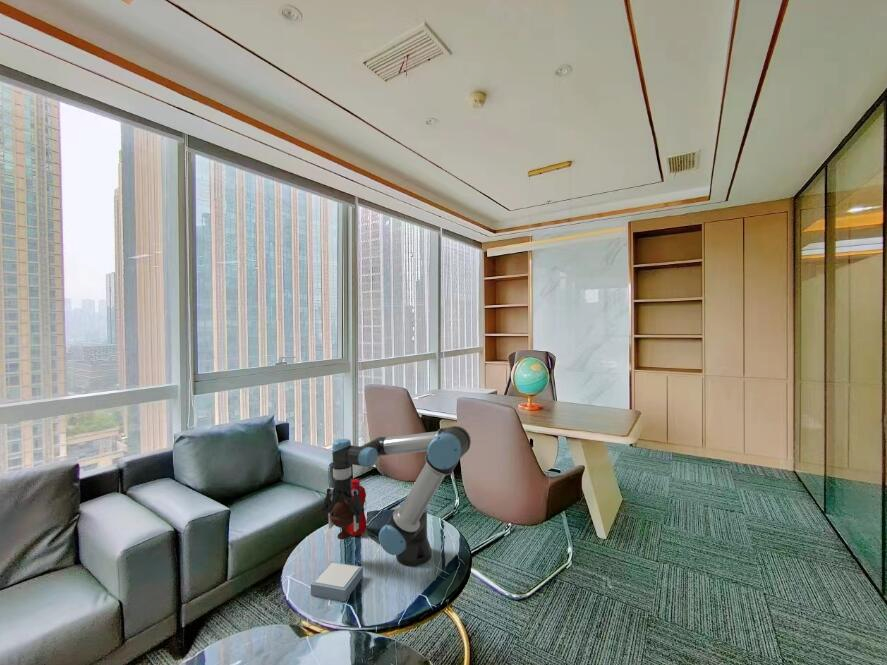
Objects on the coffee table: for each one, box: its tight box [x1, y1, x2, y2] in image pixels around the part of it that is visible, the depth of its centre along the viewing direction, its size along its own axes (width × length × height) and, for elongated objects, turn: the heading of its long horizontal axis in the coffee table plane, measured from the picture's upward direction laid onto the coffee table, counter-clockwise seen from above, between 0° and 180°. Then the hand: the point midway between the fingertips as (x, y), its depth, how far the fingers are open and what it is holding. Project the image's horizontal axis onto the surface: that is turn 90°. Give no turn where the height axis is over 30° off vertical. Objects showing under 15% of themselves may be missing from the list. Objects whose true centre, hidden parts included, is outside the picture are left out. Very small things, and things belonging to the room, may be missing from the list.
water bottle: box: [344, 478, 368, 537], centre depth 184 cm, size 9×11×25 cm
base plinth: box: [310, 561, 364, 602], centre depth 146 cm, size 14×14×4 cm
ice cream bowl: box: [330, 500, 355, 540], centre depth 161 cm, size 11×11×15 cm
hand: (343, 528), depth 161 cm, fingers closed on ice cream bowl, 11 cm apart
